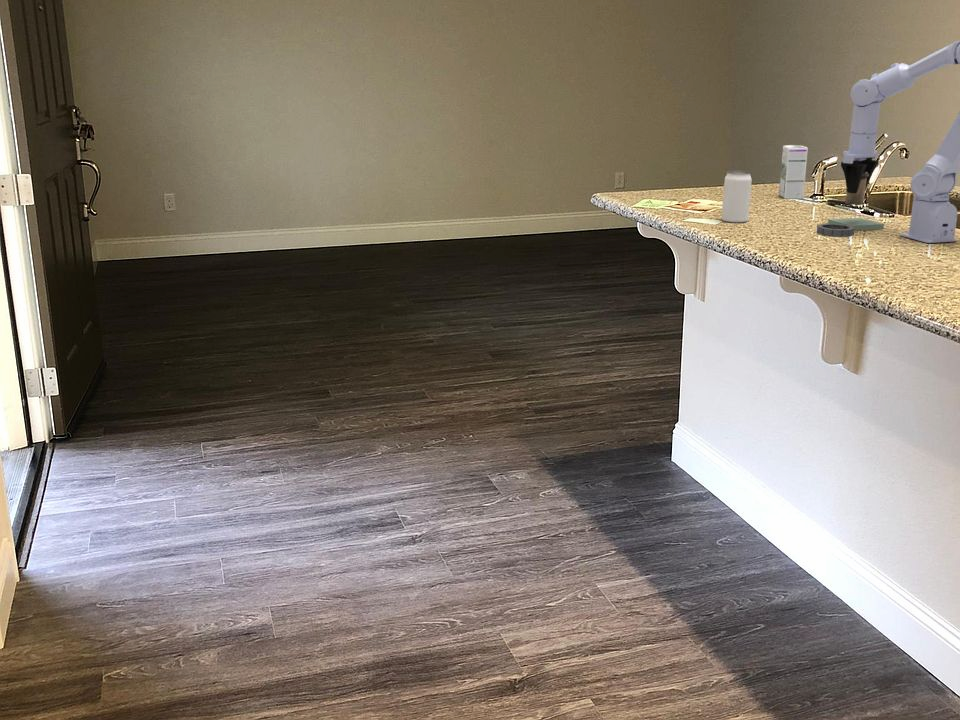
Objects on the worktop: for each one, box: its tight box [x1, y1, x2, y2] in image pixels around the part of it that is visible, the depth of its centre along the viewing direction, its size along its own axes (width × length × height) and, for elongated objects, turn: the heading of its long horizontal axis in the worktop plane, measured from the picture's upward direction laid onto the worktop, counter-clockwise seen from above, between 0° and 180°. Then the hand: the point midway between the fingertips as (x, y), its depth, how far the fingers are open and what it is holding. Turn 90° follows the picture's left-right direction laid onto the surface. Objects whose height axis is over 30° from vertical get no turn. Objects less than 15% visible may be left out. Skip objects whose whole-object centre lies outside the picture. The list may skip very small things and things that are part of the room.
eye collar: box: [816, 223, 855, 238], centre depth 227 cm, size 8×8×2 cm
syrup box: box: [778, 144, 809, 200], centre depth 276 cm, size 6×6×14 cm
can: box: [721, 170, 753, 224], centre depth 241 cm, size 6×6×12 cm
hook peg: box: [844, 172, 869, 206], centre depth 231 cm, size 5×5×8 cm
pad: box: [827, 217, 885, 232], centre depth 235 cm, size 9×9×1 cm
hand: (856, 191), depth 231 cm, fingers closed on hook peg, 4 cm apart
